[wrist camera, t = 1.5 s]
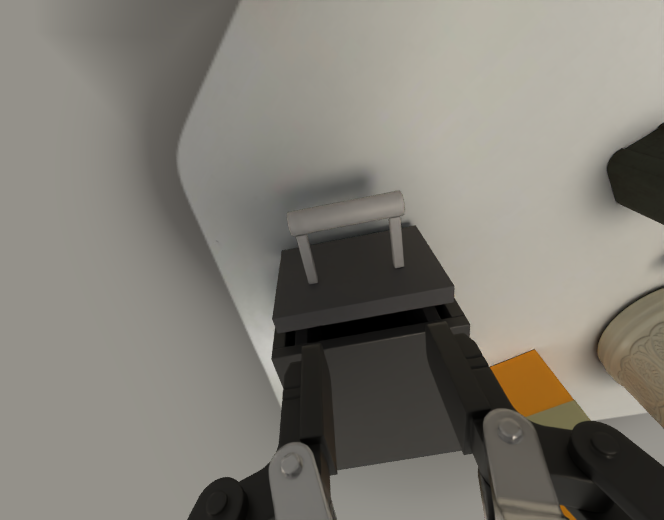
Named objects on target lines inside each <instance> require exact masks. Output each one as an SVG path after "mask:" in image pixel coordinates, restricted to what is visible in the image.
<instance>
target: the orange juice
mask: <svg viewBox="0 0 664 520" xmlns="http://www.w3.org/2000/svg"><path fill="white" fill-rule="evenodd" d="M490 368H491V370H492V372H493V373H494V375H495V377H496V379H497V380H498V382H499V384H500V385H501V387H502V389H503V391H504V392H505V394H506V396H507V397H508V399H509V401H510V402H511V404H512V406H513V407H514V408H515V409H516V410H517V412H519V413H520V414H522V415H523V416H524V417H526V418H527V419H528V420H530V421H532V422H534V423H537V424H540V425H544V426H550V427H556V428H563V429H569V430H573V428H574V426H575V425H576V424H578V423H580V422H583V421H591V420H590V419H589V418H588V416H587V415H586V414H585V413H584V411H583V410H582V409H581V407H580V406H579V405H578V404H577V402H576V401H575V400H574V399H573V398H572V397H571V395H570V394H569V393H568V392H567V390H566V389H565V388H564V386H563V385H562V384H561V382H560V381H559V380H558V379H557V377H556V376H555V375H554V373H553V372H552V371H551V370H550V368H549V367H548V366H547V364H546V363H545V362H544V361H543V359H542V358H541V357H540V355H539V354H538V353H537V352H536V350H532V351H529V352H527V353H524V354H522V355H519V356H517V357H514V358H512V359H509V360H507V361H504V362H502V363H499V364H497V365H494V366H492V367H490ZM560 508H561V510H562V512H563V514H564V515H565V516H566V517H568V518H569V519H570V520H576V519H575V518H574V516H573V515H572V514H571V513H570V512H569V511H568V510H567V509H566V508H565V506H563V505H560Z"/></svg>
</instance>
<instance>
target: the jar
mask: <svg viewBox="0 0 664 520" xmlns="http://www.w3.org/2000/svg"><path fill="white" fill-rule="evenodd" d="M598 357H599V359H600V361H601V362H602V363H603V365H604V367H605V369H606V371H607V372H608V373H609V375H611V376H612V377H613V379H614V380H615V381H616V382H617V383H618V384H620V385H622V386H623V387H624V388H625V389H626V390H627V391H628V392H629V393H630V394H631V395H632V396H633V397H634V398H635V399H636V400H637V401H638V402H639V403H640V404H641V405H642V406H643V407H644V408H645V409H646V411H647V412H648V413H649V414H650V415H651V416H652V417H653V418H654V419H655V420H656V421H657V422H658V423H659V424H660V425H661V426H662V427H663V428H664V288H662V289H660V290H657V291H655V292H653V293H651V294H648V295H647V296H645V297H643V298H641V299H639V300H638V301H636V302H635V303H633V304H632V305H630V306H629V307H627V308H626V309H625V310H623V311H622V312H621V313H620V314H619V315H618V316H617V317H616V318H615V319H614V320H613V321H612V322H611V323H610V324H609V325H608V327H607V328H606V329H605V331H604V332H603V334H602V336H601V338H600V341H599V344H598Z"/></svg>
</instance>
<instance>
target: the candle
mask: <svg viewBox="0 0 664 520" xmlns="http://www.w3.org/2000/svg"><path fill="white" fill-rule="evenodd" d="M607 171H608V175H609V179H610V182H611V185H612V189H613V192H614V196H615V199H616V201H617V202H618V203H619V204H621V205H623V206H625V207H627V208H629V209H631V210H633V211H636V212H638V213H640V214H642V215H644V216H646V217H648V218H650V219H652V220H655V221H657V222H659V223H661V224H663V225H664V124H662V125H660V126H659V129H657V130H656V131H654V132H653V133H651V134H649V135H648V136H646V137H644V138H643V139H641V140H639V141H638V142H636V143H634V144H633V145H631V146H629V147H628V148H626V149H621V150H619V151H618V152H616V153H615V154H614V156H613V157H612V158H611V160H610V161H609V164H608V167H607Z"/></svg>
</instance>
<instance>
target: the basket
mask: <svg viewBox="0 0 664 520" xmlns="http://www.w3.org/2000/svg"><path fill="white" fill-rule="evenodd" d="M404 212H405V205H404V199H403V195H402V193H401V191H394V192H389V193H384V194H378V195H373V196H368V197H363V198H358V199H353V200H348V201H343V202H338V203H332V204H327V205H322V206H317V207H312V208H307V209H302V210H297V211H291V212H288V213H287V222H288V227H289V230H290V233H291V235H292V236H296V239H297V242H298V246H299V248H294V249H288V250H283V251H282V254H281V261H280V268H279V275H278V282H277V289H276V296H275V304H274V311H273V318H272V320H273V322H274V325H275V328H276V330H277V333H284V332H289V331H295V330H296V334H295V345H300V344H306V343H312V342H317V341H323V340H329V339H334V338H340V337H346V336H351V335H357V334H363V333H368V332H374V331H380V330H385V329H391V328H397V327H402V326H408V325H414V324H419V323H425V322H431V321H436V320H441V318H440V316H439V314H438V312H437V310H436V308H435V307H434V306H435V305H441V304H446V303H452V302H454V285H453V283H452V282H451V280H450V278H449V277H448V275H447V274H446V272H445V271H444V269H443V267H442V266H441V264H440V263H439V261H438V260H437V258H436V256H435V255H434V253H433V252H432V250H431V249H430V247H429V245H428V244H427V242H426V241H425V239H424V238H423V236H422V235H421V233H420V231H419V230H418V228H417V227H416V225H415V226H409V227H404V228H401V219H400V216H401V215H404ZM386 218H389V228H390V230H388V231H383V232H378V233H373V234H367V235H362V236H357V237H351V238H346V239H341V240H336V241H330V242H325V243H320V244H315V245H310V244H309V240H308V236H307V233H313V232H318V231H323V230H328V229H333V228H339V227H344V226H349V225H354V224H360V223H365V222H370V221H375V220H380V219H386Z"/></svg>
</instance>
